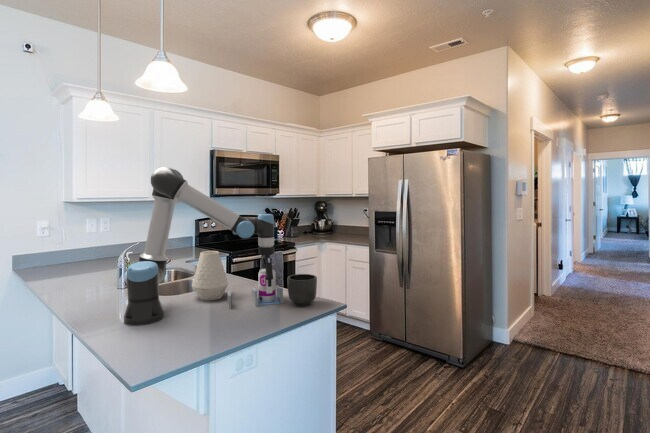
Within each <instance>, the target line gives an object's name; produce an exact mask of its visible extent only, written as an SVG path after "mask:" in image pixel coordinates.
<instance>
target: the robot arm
mask: <svg viewBox="0 0 650 433" xmlns="http://www.w3.org/2000/svg"><path fill="white" fill-rule="evenodd" d="M150 184H151V187H152V193H151V197H152V198H153V199H154V202H153V208H152V211H151V218H150V222H149V226H148V230H147V231H148V232H147V237H146V242H145V248H144V251H143V253H140V254H139V258H138V261H137V262H134V263H131V264H129V266H128V267H127V268H126V281H127V282H126V283H127V287H126V288H127V306H126V308H125V312H124V316H123V323H124V324H125V325H127V326H142V325H143V326H144V325H149V324H154V323H156V322H159V321H161V320H163V319H164V318H165V311H164V308H163V306H162V303H161V301H160V292H159V290H160V287H159V286H160V283H162V282H163V281H164V280H165V278H166V275H167V264H168V257H167V256H166V255H165V254H166V250H167V245H168V240H169V235H170V230H171V225H172V220H173V216H174V210H175V207H176V206H175V205H176V204H177V203H178V202H179V201H180V202H182V203H183V204H185V205H187V206H189V207H190V208H192V209H193V210H195V211H197V212H199V213H201V214H202V215H204V216H206V218H209V219H211V220H213V221H214V222H216V223H218V224H219V225H221V226H223V227H225V228H226V229H228V230H230V231H232V234H233V235H234V236H236V235H238V236H239V237H240V238H241V239H249V238H251V237H252V236H253V235H257V243H258V244H257V245H258V254H259V255H260V256H261V268H260V269H266V277H267V278H265V280H266V293H272V279H273V272H272V269H273V264H272V263H273V262H272V257H271V256H272V255H274V254H275V246H274V245H275V241H276V239H275V219H274V218H275V217H274V215H273V214H272V213H259V214H258V215H257V217H256V218H245V217H243V216H241V215H240V214H238V213H237V212H234V211H233V210H231V209H229V208H228V207H227V206H224V205H223V204H221V203H219V202H218V201H216V200H215V199H213V198H211V197H209V196H208V195H206V194H204V193H203V192H202V191H199V190H198V189H196V188H194V187H193V186H191V185H190V184H189V183H188V180H186V179H184V177H183V174H181V173H180V171H179V170H177V169H174V168H172V167H167V166H164V167H162V166H161V167H159V168H157V169H155V170H154V171H153V172H152V174H151V176H150ZM269 276H270V277H269Z"/></svg>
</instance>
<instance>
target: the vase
mask: <svg viewBox="0 0 650 433" xmlns="http://www.w3.org/2000/svg"><path fill="white" fill-rule="evenodd" d="M228 286H229V281H228V277H227V273H226V271H225V268H224V263H223V261H222V258H221V255H220V251H218V250H208V251H207V250H206V251H205V250H204V251H201V252H200V253H199V258H198V262H197V265H196V270H195V272H194V277H193V281H192V284H191V288H192V289H193V291H194V292H195V294H196V296H197V297H198V299H199V300H200V299H201V301H208V302H209V301H215V300H216V301H217V300H220V299H222V298H223V296H224V293H225V292H226V291H227V288H228Z"/></svg>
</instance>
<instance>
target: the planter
mask: <svg viewBox="0 0 650 433" xmlns="http://www.w3.org/2000/svg"><path fill="white" fill-rule="evenodd" d="M286 280H287V281H286V282H287V295H288V298H289V301H290V302H291V303H293V305H294V306H296V307H308V306H310V305H311V304H312V303H313V302H314V301H315V299H316V297H317V288H318V277H317V276H316V275H315V274H309V273H297V274H291V275H288V277H287V279H286Z"/></svg>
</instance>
